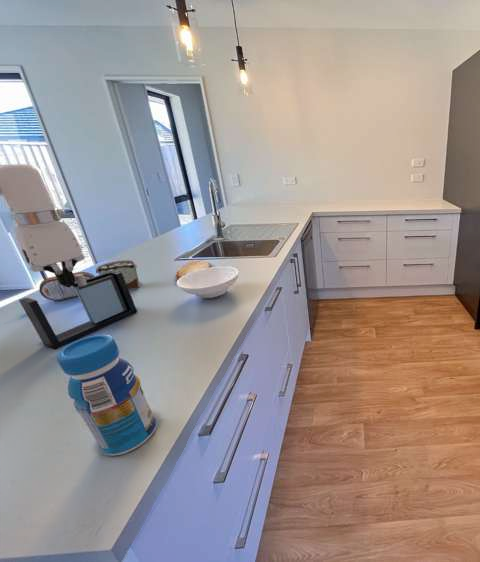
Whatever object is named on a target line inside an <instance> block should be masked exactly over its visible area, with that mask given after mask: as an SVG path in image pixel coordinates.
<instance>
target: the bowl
mask: <svg viewBox="0 0 480 562" xmlns="http://www.w3.org/2000/svg"><path fill="white" fill-rule="evenodd" d="M238 278H239V270H238V269H237V268H235V267H231V266H211V268H205V269H201V270H197V271H194V272H191V273H188V274H186V275H184V276H182V277H181V278H180V279H179V280H176V286H177V287H178V288H179V289H180V290H181V291H182V292H184V293H185V294H189V295H195V296H196V297H198V298H200V299H213V298H218V297H219V296H222V295H224V294H225V293H227V292H228V290H229V288H230V287H231V286H233V285H234V284H235V283H236V282H237V280H238Z"/></svg>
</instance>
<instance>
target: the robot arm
mask: <svg viewBox="0 0 480 562" xmlns="http://www.w3.org/2000/svg"><path fill="white" fill-rule="evenodd" d="M1 197H3V198H4V199H5V202H6V204H7V206H8V208H9V210H10V212H11V214H12V216H13V219H14V220H15V222H16V224H17V225H15V226H13V232H14V236H15V239H16V242H17V245H18V249H19V250H20V253H21V256H22V258H23V260H24V261H25V263H26V264H28V265H29V270H30V271H31V272H35V273H36V272H49V273H52V274H54V277H55V276H56V278H57V280H58V282H59V284H60V285H63V286H65V287H71V286H75V285H76V284H75V282H74V281H76V279H75V277H74V275H73V273H74V272H73V271H74V268H75V266H76V265H77V263H79V262H81V261H83V260H85V259H86V257H85V255H84V254H83V252H84V251H83V249H82V246H81V244H80V242H79V240H78V239H77V237H76V235H75V233H74V232H73V230H72V229H71V227H70V225H68V222H66V220H64V219H62V216H66V214H67V213H66V211H65V210H64V209H58V208H57V207H56V204H55V202H54V200H53V198H52V196H51V193H50V190H49V189H48V186H47V184H46V182H45V179H44V177H43V174H42V172H41V170H40V169H39V167H37V166H35V165H32V164H28V163H27V164H25V163H23V164H21V163H20V164H0V198H1ZM58 263H60V265H61V268H60V266H59V264H58Z"/></svg>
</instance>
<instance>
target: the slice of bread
mask: <svg viewBox="0 0 480 562" xmlns="http://www.w3.org/2000/svg"><path fill="white" fill-rule="evenodd" d="M211 267H212V266H211V264H210V263H209V262H208V261H204V260H190V261H188V262H187V263H185V264H183V265H181V266H180V267H179V269H178V270H177V271H176V274H175V278H176V281H178V280H179V279H180V278H181V277H182V276H184V275H186V274H188V273H191V272H194V271H197V270H201V269H205V268H211Z"/></svg>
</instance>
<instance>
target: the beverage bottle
mask: <svg viewBox="0 0 480 562" xmlns="http://www.w3.org/2000/svg"><path fill="white" fill-rule="evenodd" d="M56 360H57V363H58V364H59V366H60V368H61V370H62V372H63V373H64V374H65V375H66V376H68V377H69V379H68V383H67V384H68V385H67V394H68V397H69V398H70V399H72V400H74V401H73V406H74V408H75V411H76V412H77V413H78V414H79V415H80V417H81V418H82V420H83V422H84V423H85V425H86V426H87V428H88V430H89V432H90V433H91V435H92V436H93V438H94V440H95V441H96V444H97V446H98V447H99V449H100V451H101V452H102V453H103V454H104V455H106V456H121V455H125V454H127V453H129V452H132V451H134V450H136V449H137V448H139V447H140V446H142V445H143V444H144V443H146V442H147V441H148V439H150V438H151V437H152V436H153V434H154V433H155V431H156V429H157V424H158V423H157V419H156V417H155V415H154V413H153V411H152V409H151V407H150V404H149V402H148V399H147V397H146V394H145V392H144V390H143V388H142V385H141V381H140V378H139V377H138V375H137V374H136V373H135V372H134V371H135V370H134V367H133V366H132V364H131V363H130V362H129V361H127V360H125V359H124V358H122V357H120V350H119V348H118V344H117V343H116V341H115V339H114V337H113V336H111V335H109V334H96V335H95V334H94V335H90V336H87V337H86V336H85V337H82V338H79V339H77V340H75V341H73V342H70V343H68V344H66V345H65V346H64V347H63V348H61V349H60V350H59V351H58V352H57V354H56Z"/></svg>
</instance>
